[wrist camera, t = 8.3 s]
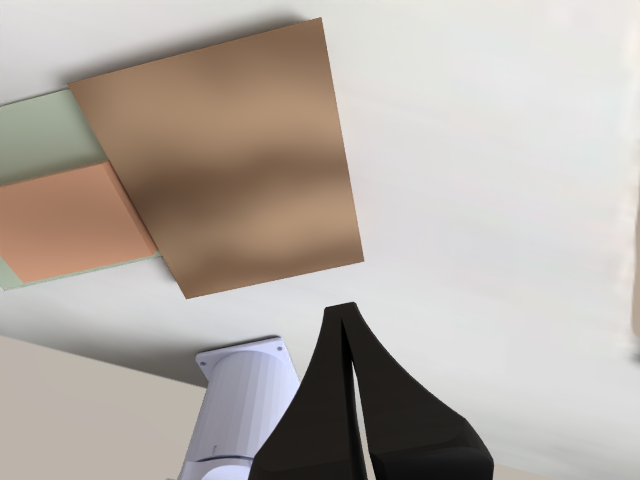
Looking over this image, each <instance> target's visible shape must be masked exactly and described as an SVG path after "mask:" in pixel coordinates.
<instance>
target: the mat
mask: <svg viewBox="0 0 640 480" xmlns="http://www.w3.org/2000/svg"><path fill="white" fill-rule="evenodd" d="M107 159H108V157H107V155H106V153H105V151H104V149H103V148H102V146H101V144H100V142H99V140H98V139H97V137H96V135H95V133H94V131H93V130H92V128H91V126H90V124H89V122H88V120H87V119H86V117H85V115H84V113H83V111H82V110H81V108H80V106H79V104H78V102H77V101H76V99H75V97H74V95H73V93H72V91H71V90H70V89H67V90H63V91H59V92H55V93H51V94H47V95H44V96H40V97H36V98H32V99H28V100H24V101H21V102H17V103H13V104H9V105H5V106H1V107H0V185H1V184H5V183H10V182H14V181H18V180H22V179H27V178H31V177H35V176H39V175H44V174H48V173H52V172H56V171H61V170H65V169H69V168H73V167H78V166H82V165H86V164H90V163H95V162H99V161H103V160H107ZM160 256H162V255H161V253H160V251H159V249H158V250H157V251H156V252H155V254H154V255H153V256H148V257H144V258H139V259H134V260H130V261H125V262H120V263H116V264H111V265H106V266H102V267H97V268H92V269H88V270H83V271H78V272H74V273H69V274H64V275H60V276H55V277H50V278H46V279H41V280H36V281H32V282H27V283H23V282H22V281H21V280H20V279H19V277H18V276H17V275H16V274H15V273H14V271H13V270H12V269H11V268H10V267H9V266H8V264H7V263H6V262H5V261H4V260H3V258H2V257H1V256H0V287H1V288H2V289H3V290H4V291H7V290H12V289H16V288H21V287H25V286H30V285H34V284H39V283H43V282H48V281H52V280H57V279H61V278H66V277H70V276H75V275H79V274H84V273H88V272H93V271H97V270H102V269H106V268H111V267H115V266H120V265H124V264H129V263H133V262H138V261H142V260H147V259H151V258H156V257H160Z"/></svg>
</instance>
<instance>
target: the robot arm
mask: <svg viewBox="0 0 640 480" xmlns="http://www.w3.org/2000/svg"><path fill="white" fill-rule="evenodd" d="M195 360H196V362H197V364H198V365H199V367H200V369H201V370H202V372H203V374H204V375H205V377H206V378H207V380H208V382H209V384H208V387H207V390H206V393H205V397H204V400H203V403H202V406H201V409H200V412H199V416H198V419H197V422H196V425H195V428H194V431H193V434H192V437H191V440H190V444H189V447H188V450H187V453H186V456H185V459H184V462H183V466H182V469H181V472H180V474H179V476H178V478H177V480H368V478H367V473H366V467H365V461H364V455H363V450H362V444H361V438H360V432H359V427H358V420H357V412H356V402H355V390H354V379H353V367H352V362H353V366H354V369H355V373H356V376H357V381H358V387H359V393H360V399H361V405H362V411H363V417H364V424H365V430H366V437H367V443H368V450H369V454H370V458H371V462H372V465H373V469H374V473H375V477H376V480H493V471H494V462H493V458H492V456H491V454H490V452H489V451H488V449H487V447H486V446H485V444H484V443H483V441H482V440H481V438H480V437H479V435H478V434H477V433H476V431H475V430H474V429H473V427H472V426H471V425H470V424H469V422H468V421H467V420H466V419H465V418H464V417H462V416H461V415H459V414H458V413H457V412H455V411H454V410H452V409H451V408H450V407H448V406H447V405H446V404H444V403H443V402H442V401H440V400H439V399H438V398H437V397H435V396H434V395H433V394H431V393H430V392H429V391H428V390H427V389H426V388H424V387H423V386H422V385H421V384H420V383H419V382H418V381H416V380H415V379H414V378H413V377H412V376H411V375H410V374H409V373H408V372H407V371H406V370H405V369H404V368H403V367H402V366H401V365H400V364H399V363H398V362H397V361H396V360H395V359H394V358H393V357H392V356H391V355H390V354H389V352H388V351H387V350H386V349H385V348H384V347H383V345H382V344H381V343H380V342H379V340H378V339H377V338H376V336H375V335H374V334H373V332H372V331H371V329H370V328H369V327H368V325H367V324H366V322H365V320H364V319H363V317H362V315H361V313H360V312H359V309H358V307H357V304H356V303H355V302H349V303H345V304H340V305H335V306H330V307H326V308H325V309H324V316H323V322H322V326H321V330H320V334H319V337H318V341H317V344H316V347H315V350H314V353H313V356H312V358H311V361H310V364H309V366H308V369H307V371H306V373H305V376H304V378H303V380H302V382H301V384H300V382H299V379H298V377H297V374H296V372H295V369H294V366H293V364H292V361H291V359H290V356H289V354H288V351H287V348H286V346H285V343H284V341H283V339H281V338H272V339H267V340H262V341H257V342H252V343H247V344H242V345H237V346H233V347H228V348H223V349H218V350H213V351H208V352H203V353H199V354H197V355H196V358H195ZM166 480H175V479H170V478H168V479H166Z"/></svg>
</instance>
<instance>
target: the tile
mask: <svg viewBox="0 0 640 480" xmlns="http://www.w3.org/2000/svg"><path fill="white" fill-rule="evenodd" d="M157 250H158V247H157V245H156V244H155V242H154V240H153V238H152V236H151V235H150V233H149V231H148V229H147V227H146V226H145V224H144V222H143V220H142V218H141V216H140V215H139V213H138V211H137V209H136V207H135V206H134V204H133V202H132V200H131V198H130V197H129V195H128V193H127V191H126V189H125V188H124V186H123V184H122V182H121V180H120V178H119V177H118V175H117V173H116V171H115V169H114V168H113V166H112V164H111V162H110V160H109V159H107V160H103V161H99V162H95V163H90V164H86V165H82V166H78V167H73V168H69V169H65V170H61V171H56V172H52V173H48V174H44V175H39V176H35V177H31V178H27V179H22V180H18V181H14V182H10V183H5V184H1V185H0V256H1V257H2V258H3V260H4V261H5V262H6V263H7V264H8V266H9V267H10V268H11V269H12V270H13V271H14V273H15V274H16V275H17V276H18V277H19V279H20V280H21V281H22V282H23V283H27V282H32V281H36V280H41V279H46V278H50V277H55V276H60V275H64V274H69V273H74V272H78V271H83V270H88V269H92V268H97V267H102V266H106V265H111V264H116V263H120V262H125V261H130V260H134V259H139V258H144V257H148V256H153V255H154V254H155V252H156V251H157Z"/></svg>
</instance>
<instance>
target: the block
mask: <svg viewBox="0 0 640 480" xmlns="http://www.w3.org/2000/svg"><path fill="white" fill-rule="evenodd" d="M68 86H69V88H70V90H71V91H72V93H73V95H74V97H75V99H76V101H77V102H78V104H79V106H80V108H81V110H82V111H83V113H84V115H85V117H86V119H87V120H88V122H89V124H90V126H91V128H92V130H93V131H94V133H95V135H96V137H97V139H98V140H99V142H100V144H101V146H102V148H103V149H104V151H105V153H106V155H107V157H108V159H109V160H110V162H111V164H112V166H113V168H114V169H115V171H116V173H117V175H118V177H119V178H120V180H121V182H122V184H123V186H124V188H125V189H126V191H127V193H128V195H129V197H130V198H131V200H132V202H133V204H134V206H135V207H136V209H137V211H138V213H139V215H140V216H141V218H142V220H143V222H144V224H145V226H146V227H147V229H148V231H149V233H150V235H151V236H152V238H153V240H154V242H155V244H156V245H157V247H158V249H159V251H160V253H161V255H162V256H163V258H164V260H165V262H166V264H167V265H168V267H169V269H170V271H171V273H172V274H173V276H174V278H175V280H176V282H177V284H178V285H179V287H180V289H181V291H182V293H183V294H184V296H185V298H186V299H190V298H194V297H199V296H204V295H208V294H213V293H218V292H223V291H227V290H232V289H237V288H241V287H246V286H251V285H256V284H260V283H265V282H270V281H274V280H279V279H284V278H289V277H293V276H298V275H303V274H307V273H312V272H317V271H322V270H326V269H331V268H336V267H340V266H345V265H350V264H354V263H359V262H364V256H363V251H362V245H361V239H360V234H359V228H358V222H357V217H356V211H355V205H354V200H353V194H352V188H351V183H350V177H349V171H348V166H347V160H346V154H345V148H344V143H343V137H342V131H341V126H340V120H339V114H338V109H337V103H336V97H335V92H334V86H333V80H332V75H331V69H330V63H329V58H328V52H327V46H326V41H325V35H324V29H323V23H322V18H321V17H320V18H316V19H312V20H308V21H304V22H301V23H297V24H293V25H289V26H285V27H282V28H278V29H274V30H270V31H266V32H263V33H259V34H255V35H251V36H247V37H243V38H240V39H236V40H232V41H228V42H224V43H221V44H217V45H213V46H209V47H205V48H202V49H198V50H194V51H190V52H186V53H182V54H179V55H175V56H171V57H167V58H163V59H160V60H156V61H152V62H148V63H144V64H141V65H137V66H133V67H129V68H125V69H122V70H118V71H114V72H110V73H106V74H102V75H99V76H95V77H91V78H87V79H83V80H80V81H76V82H72V83H68Z"/></svg>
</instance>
